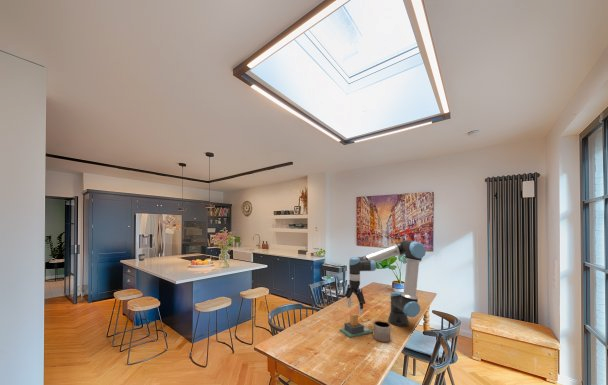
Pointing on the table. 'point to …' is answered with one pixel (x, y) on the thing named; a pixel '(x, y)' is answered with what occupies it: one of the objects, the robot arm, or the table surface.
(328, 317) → the table surface
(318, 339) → the table surface
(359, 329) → the board
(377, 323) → the planter
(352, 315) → the plug
